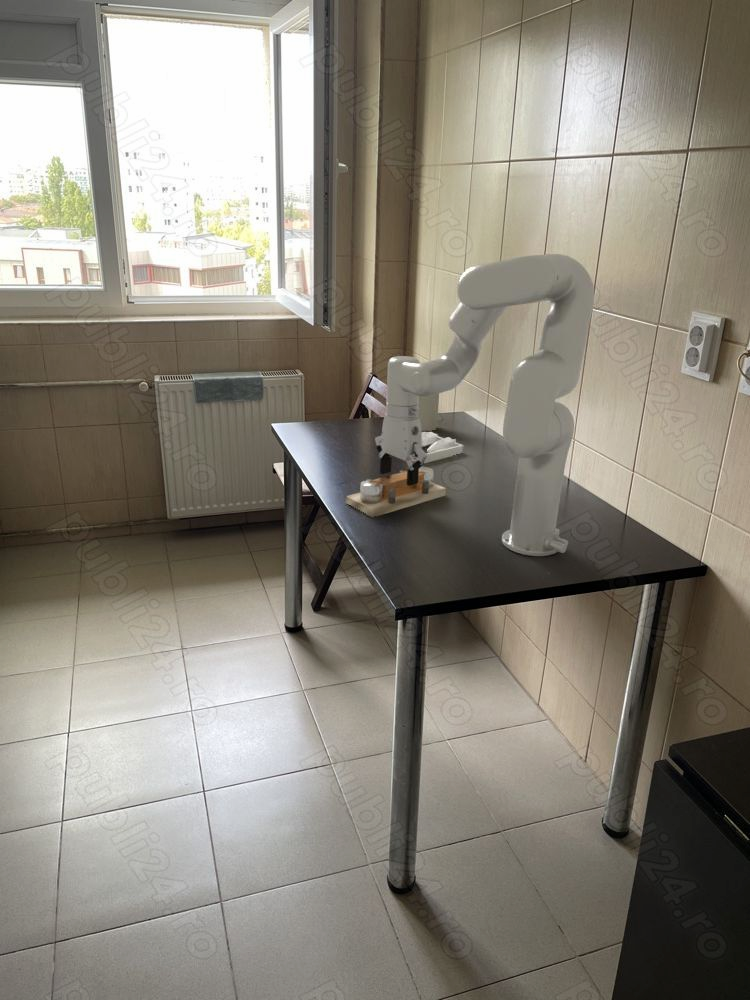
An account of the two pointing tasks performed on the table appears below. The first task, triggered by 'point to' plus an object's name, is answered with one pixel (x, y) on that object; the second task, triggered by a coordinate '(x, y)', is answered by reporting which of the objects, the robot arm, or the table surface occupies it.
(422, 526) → the table surface
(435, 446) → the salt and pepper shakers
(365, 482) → the orange dumbbell
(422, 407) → the travel mug
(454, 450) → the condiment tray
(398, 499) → the tool rack
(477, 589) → the table surface
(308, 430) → the table surface
